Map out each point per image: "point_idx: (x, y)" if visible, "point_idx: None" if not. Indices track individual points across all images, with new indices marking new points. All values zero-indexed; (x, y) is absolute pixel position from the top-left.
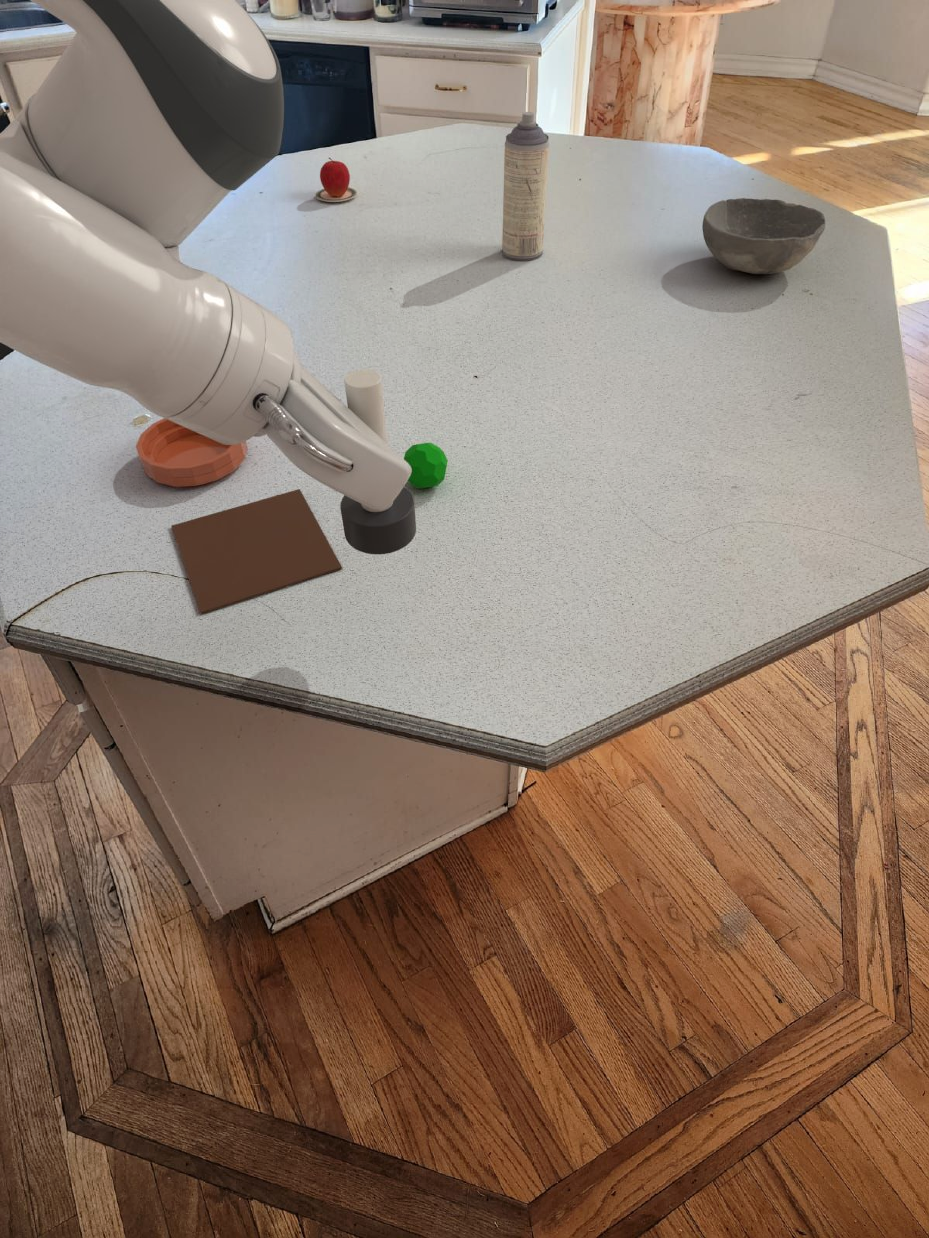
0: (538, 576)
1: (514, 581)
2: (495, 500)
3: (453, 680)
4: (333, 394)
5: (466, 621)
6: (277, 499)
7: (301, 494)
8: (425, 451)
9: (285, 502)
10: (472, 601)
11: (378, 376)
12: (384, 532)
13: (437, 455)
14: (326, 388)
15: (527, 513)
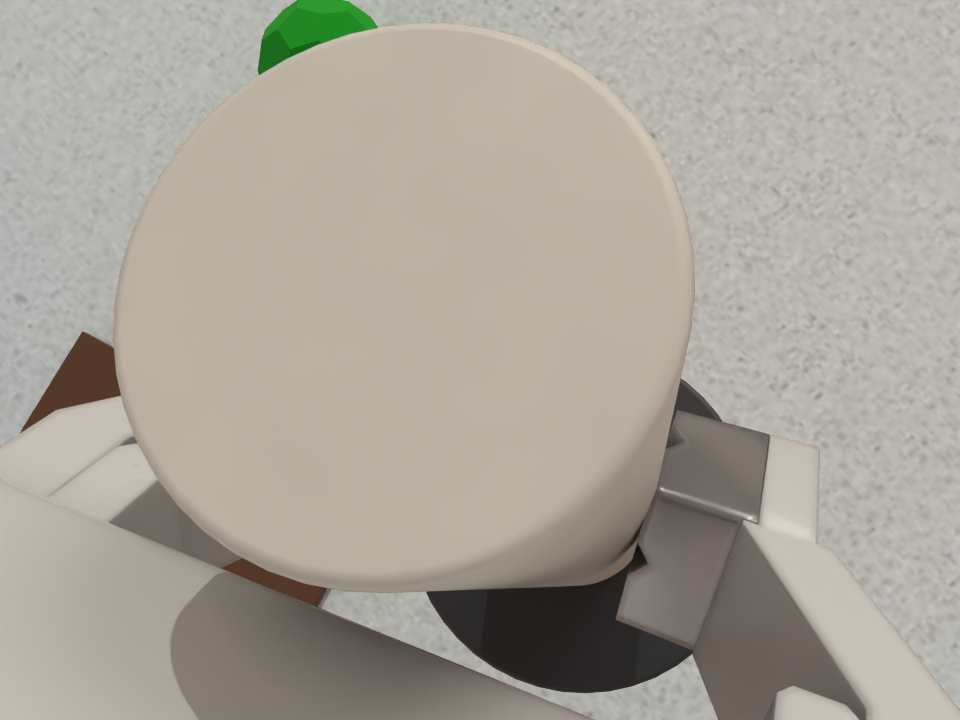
0: (836, 182)
1: (796, 237)
2: (541, 38)
3: (932, 641)
4: (152, 631)
5: (797, 437)
6: (58, 399)
7: (100, 344)
8: (317, 38)
9: (83, 394)
10: (756, 367)
11: (561, 85)
12: None
13: (350, 25)
14: (6, 591)
15: (645, 22)
